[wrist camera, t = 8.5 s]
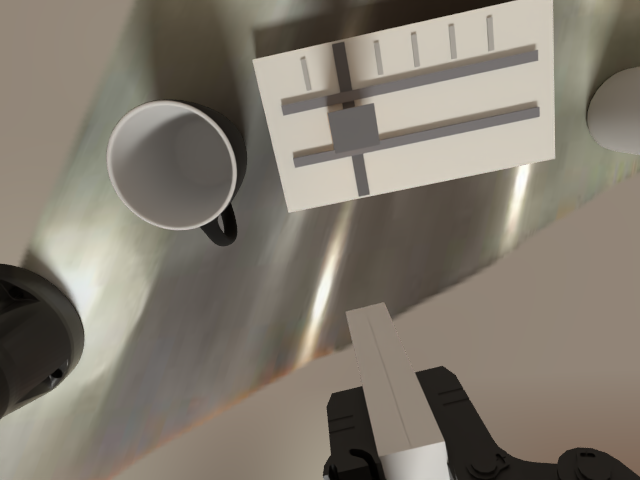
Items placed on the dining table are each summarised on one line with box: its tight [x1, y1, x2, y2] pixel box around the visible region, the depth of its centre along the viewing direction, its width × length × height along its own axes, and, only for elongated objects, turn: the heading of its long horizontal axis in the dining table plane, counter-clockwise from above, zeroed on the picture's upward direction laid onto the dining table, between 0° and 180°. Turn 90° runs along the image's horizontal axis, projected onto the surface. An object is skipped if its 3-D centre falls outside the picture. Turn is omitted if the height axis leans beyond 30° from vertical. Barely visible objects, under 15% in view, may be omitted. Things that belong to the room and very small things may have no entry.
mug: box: [106, 100, 247, 246], centre depth 32 cm, size 12×9×10 cm
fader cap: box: [327, 103, 380, 154], centre depth 30 cm, size 3×3×6 cm
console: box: [252, 0, 555, 212], centre depth 34 cm, size 24×13×3 cm, turn 102°
